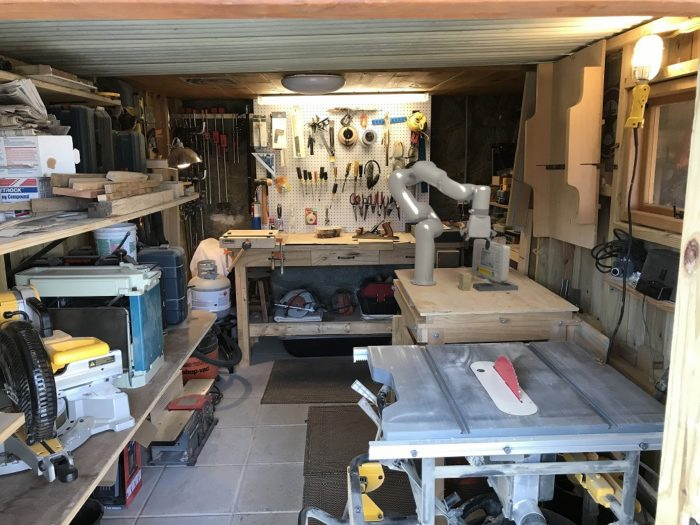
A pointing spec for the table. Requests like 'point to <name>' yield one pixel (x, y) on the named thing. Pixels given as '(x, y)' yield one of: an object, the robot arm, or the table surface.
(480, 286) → the grey flat plate
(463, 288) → the brass block
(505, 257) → the network device
